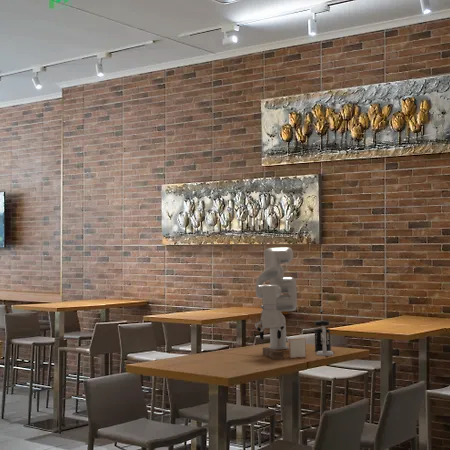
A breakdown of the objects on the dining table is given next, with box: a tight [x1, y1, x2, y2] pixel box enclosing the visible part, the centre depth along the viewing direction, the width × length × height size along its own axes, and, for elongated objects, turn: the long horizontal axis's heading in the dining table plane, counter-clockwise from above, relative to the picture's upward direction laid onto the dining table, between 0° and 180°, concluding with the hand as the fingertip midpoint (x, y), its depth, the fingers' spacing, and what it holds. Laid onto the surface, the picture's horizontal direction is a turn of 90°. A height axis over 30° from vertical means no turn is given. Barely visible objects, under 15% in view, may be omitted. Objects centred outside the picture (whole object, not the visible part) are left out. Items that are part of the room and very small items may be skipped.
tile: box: [288, 337, 307, 359], centre depth 404 cm, size 2×9×10 cm, turn 104°
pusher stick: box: [262, 346, 285, 361], centre depth 409 cm, size 23×6×4 cm, turn 14°
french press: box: [313, 310, 332, 353], centre depth 428 cm, size 12×9×23 cm
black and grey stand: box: [315, 326, 335, 357], centre depth 411 cm, size 10×10×15 cm
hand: (270, 339), depth 409 cm, fingers open, 9 cm apart
